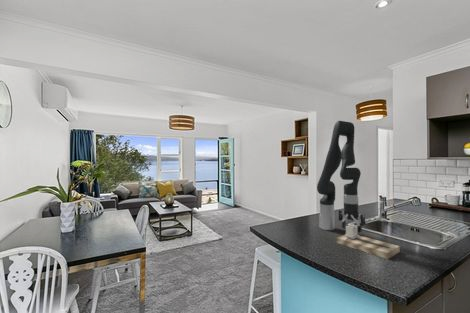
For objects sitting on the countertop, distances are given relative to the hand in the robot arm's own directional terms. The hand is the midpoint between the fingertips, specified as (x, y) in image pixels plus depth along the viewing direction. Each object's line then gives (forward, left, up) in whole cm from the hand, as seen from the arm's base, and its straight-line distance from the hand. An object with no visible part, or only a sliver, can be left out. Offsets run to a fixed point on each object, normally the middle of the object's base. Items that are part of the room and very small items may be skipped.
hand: (351, 230), depth 128 cm
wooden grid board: (+8, 0, -7) cm, 11 cm away
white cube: (0, 0, -4) cm, 4 cm away
